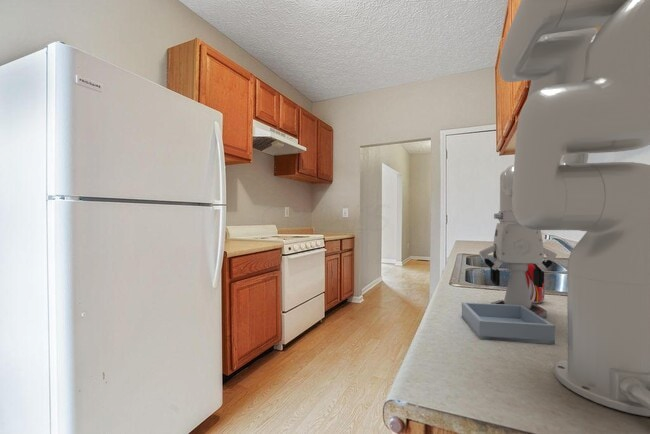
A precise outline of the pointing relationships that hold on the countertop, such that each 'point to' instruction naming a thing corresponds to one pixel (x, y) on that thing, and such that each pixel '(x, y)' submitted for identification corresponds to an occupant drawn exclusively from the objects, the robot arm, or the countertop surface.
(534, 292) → the soda can
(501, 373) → the countertop surface
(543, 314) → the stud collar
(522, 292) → the salt shaker
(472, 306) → the bin
